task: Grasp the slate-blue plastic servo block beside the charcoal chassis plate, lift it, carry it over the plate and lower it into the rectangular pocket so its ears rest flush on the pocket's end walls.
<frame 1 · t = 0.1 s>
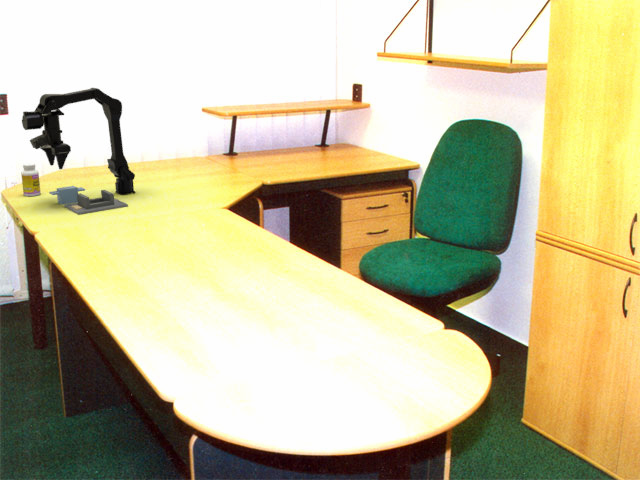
hand: (56, 167, 280), 15 cm above the table, fingers open, 9 cm apart
supplement bottle: (32, 195, 297), on the table
servo block: (68, 202, 286), on the table
chassis plate: (96, 206, 280), on the table
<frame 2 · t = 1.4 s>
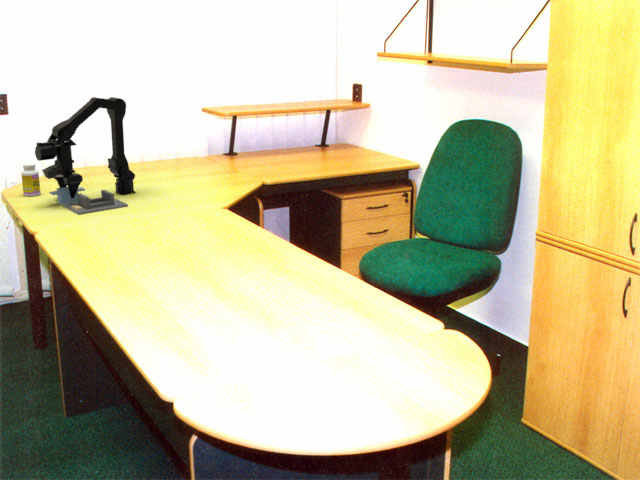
hand: (68, 196, 285), 3 cm above the table, fingers open, 9 cm apart
nothing on the table moved.
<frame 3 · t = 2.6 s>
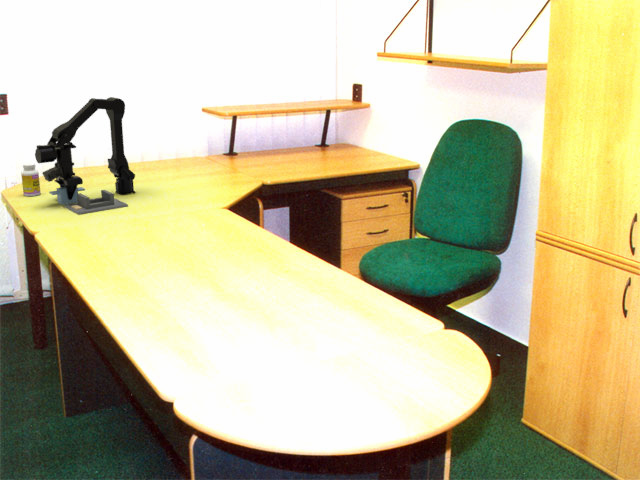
hand: (68, 198, 286), 2 cm above the table, fingers closed on servo block, 4 cm apart
servo block: (68, 202, 286), on the table, touching gripper
everything else where it was.
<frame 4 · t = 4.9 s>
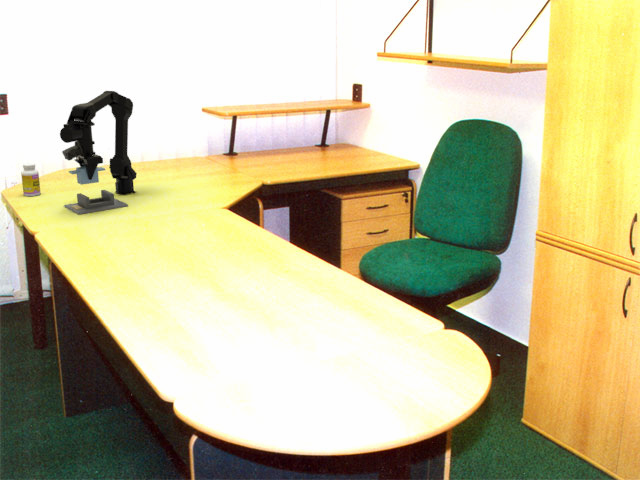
hand: (88, 178, 278), 11 cm above the table, fingers closed on servo block, 4 cm apart
servo block: (88, 182, 278), point 9 cm above the table, touching gripper
everything else where it was.
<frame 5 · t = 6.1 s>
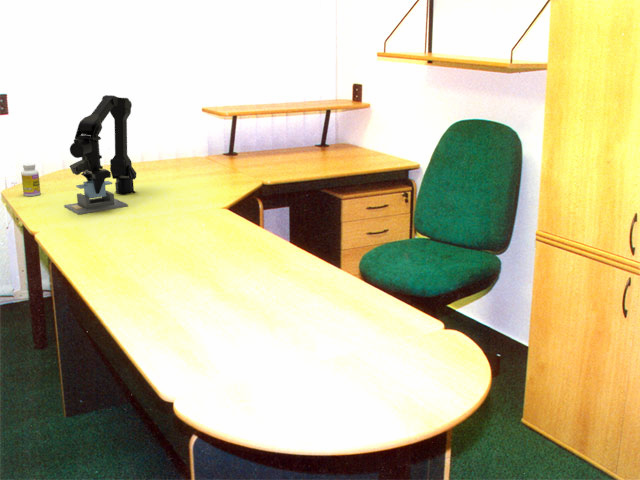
hand: (95, 192, 279), 6 cm above the table, fingers closed on servo block, 4 cm apart
servo block: (95, 196, 279), point 4 cm above the table, touching gripper
everything else where it was.
when the fingers open (4 cm above the table, at t = 7.2 s): servo block drops 1 cm, resting on chassis plate.
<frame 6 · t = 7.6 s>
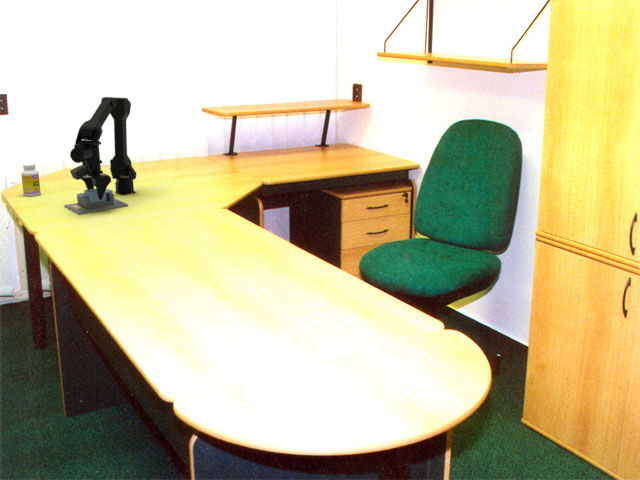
hand: (95, 197, 279), 4 cm above the table, fingers open, 9 cm apart
servo block: (96, 204, 280), point 1 cm above the table, touching chassis plate
everything else where it was.
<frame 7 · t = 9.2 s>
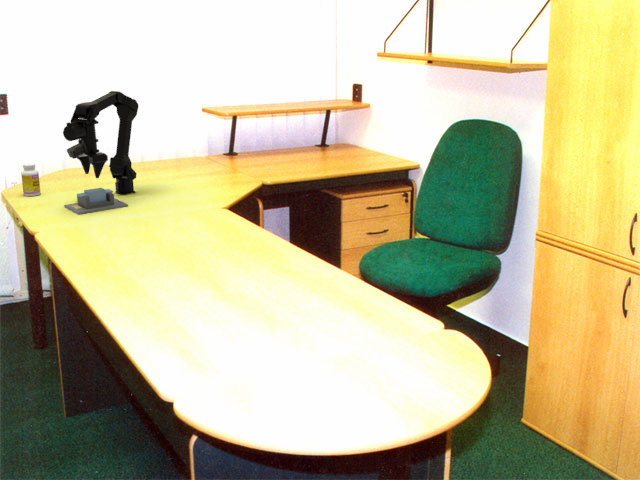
hand: (92, 176, 282), 11 cm above the table, fingers open, 9 cm apart
nothing on the table moved.
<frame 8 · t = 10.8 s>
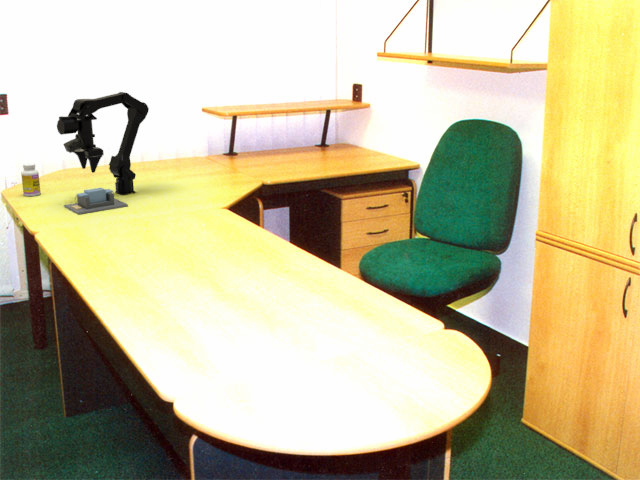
hand: (88, 170, 287), 12 cm above the table, fingers open, 9 cm apart
nothing on the table moved.
at the end: servo block 0.0 cm off-centre on the chassis plate, point 0.8 cm above the chassis plate's base; servo block tilted 0°; the gripper is holding nothing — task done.
